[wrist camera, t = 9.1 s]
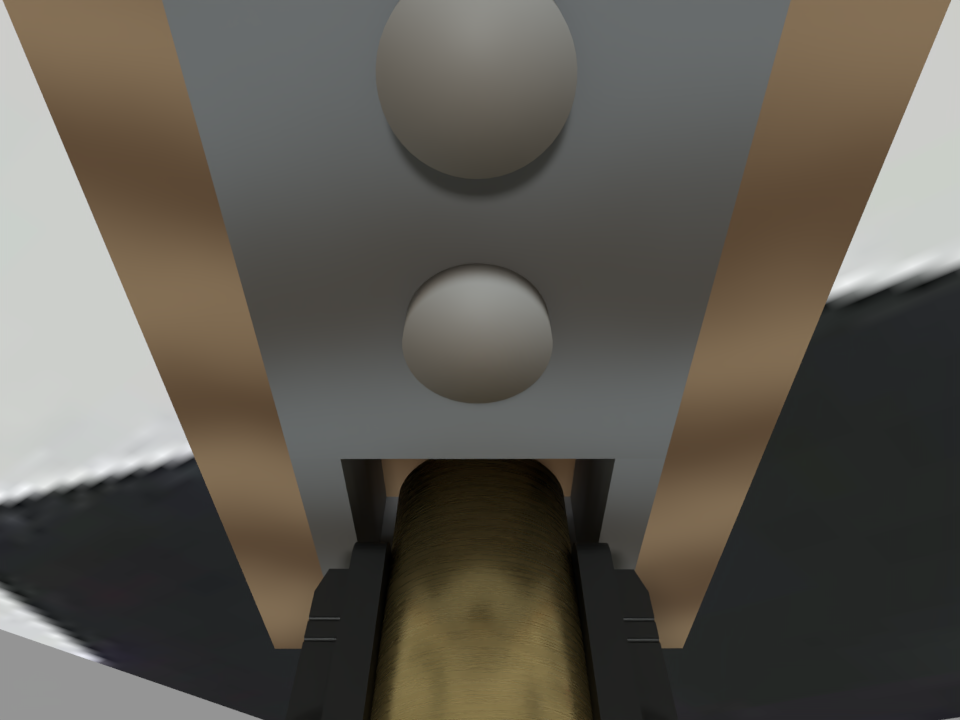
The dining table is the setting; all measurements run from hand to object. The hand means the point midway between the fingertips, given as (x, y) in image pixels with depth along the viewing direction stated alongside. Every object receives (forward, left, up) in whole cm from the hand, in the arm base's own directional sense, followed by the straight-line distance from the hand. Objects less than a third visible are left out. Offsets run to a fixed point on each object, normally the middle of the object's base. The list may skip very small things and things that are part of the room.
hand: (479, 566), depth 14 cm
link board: (0, 0, -5) cm, 5 cm away
